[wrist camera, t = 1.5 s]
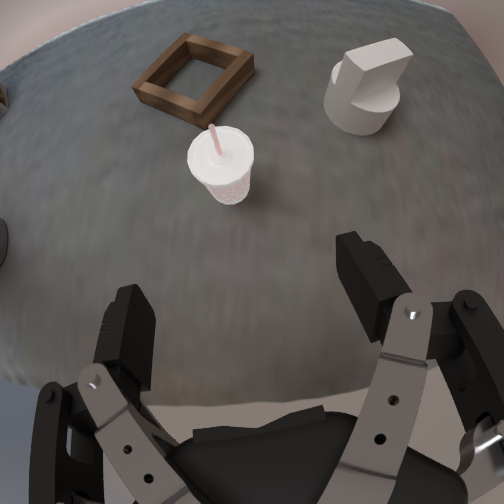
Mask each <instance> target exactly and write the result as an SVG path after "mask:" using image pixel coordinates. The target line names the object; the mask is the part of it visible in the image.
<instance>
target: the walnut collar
mask: <svg viewBox="0 0 504 504" xmlns="http://www.w3.org/2000/svg"><path fill="white" fill-rule="evenodd" d="M190 58H194V59H197V60H201V61H204V62H207V63H210V64H213V65H215V66H218V67H221V68H224V69H226V70H225V71H224V72H223V73H222V74H221V75H220V76H219V77H218V78H217V79H216V80H215V82H214V83H213V84H212V85H211V86H210V87H209V88H208V90H207V91H206V92H205V93H204V94H203V95H202V97H201V98H200V99H199V100H198V101H196V100H193V99H191V98H188V97H186V96H183V95H181V94H178V93H175V92H173V91H170V90H168V89H165V88H163V87H164V86H165V84H166V83H167V82H168V81H169V80H170V79H171V78H172V77H173V76H174V75H175V73H176V72H177V71H178V70H179V69H180V68H181V67H182V66H183V65H184V64H185V63H186V62H187V61H188V60H189V59H190ZM253 73H254V54H253V53H250V52H247V51H245V50H242V49H239V48H236V47H233V46H229V45H226V44H223V43H220V42H216V41H213V40H209V39H206V38H202V37H198V36H195V35H191V34H187V33H184V34H183V35H181V36H180V37H179V38H178V39H177V40H176V41H175V42H174V43H173V44H172V45H171V46H170V47H169V48H168V49H167V50H165V51H164V52H163V53H162V54H161V55H160V56H159V57H158V58H157V59H156V60H155V61H154V63H153V64H152V65H151V66H150V67H149V68H148V69H147V70H146V71H145V72H144V73H143V74H142V75H141V76H140V77H139V78H138V80H137V81H136V82H135V83H134V84H133V85H132V86H131V87H132V89H133V90H134V92H135V94H136V95H137V97H138V98H139V100H140V101H141V102H142V103H145V104H147V105H149V106H152V107H154V108H157V109H159V110H161V111H164V112H166V113H168V114H171V115H173V116H175V117H177V118H180V119H182V120H184V121H186V122H188V123H191V124H193V125H195V126H197V127H199V128H201V129H204V130H207V129H208V126H209V125H210V124H211V123H212V122H213V121H214V119H215V118H216V117H217V116H218V114H219V113H220V112H221V111H222V109H223V108H224V107H225V106H226V104H227V103H228V102H229V101H230V100H231V98H232V97H233V96H234V95H235V94H236V92H237V91H238V90H239V89H240V88H241V86H242V85H243V84H244V83H245V82H246V81H247V79H248V78H249V77H250V76H251V75H252V74H253Z"/></svg>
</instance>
